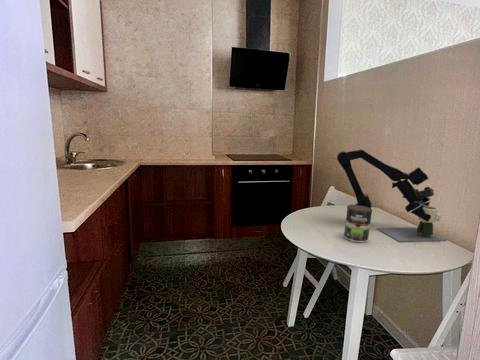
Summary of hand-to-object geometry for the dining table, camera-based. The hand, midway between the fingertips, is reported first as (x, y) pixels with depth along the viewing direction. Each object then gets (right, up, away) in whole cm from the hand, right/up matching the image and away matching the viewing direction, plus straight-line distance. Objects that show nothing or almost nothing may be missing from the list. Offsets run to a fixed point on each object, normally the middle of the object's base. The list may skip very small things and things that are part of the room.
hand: (430, 219), depth 133 cm
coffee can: (-35, -8, -2) cm, 36 cm away
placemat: (-7, -8, +5) cm, 11 cm away
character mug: (-1, -7, +3) cm, 8 cm away
